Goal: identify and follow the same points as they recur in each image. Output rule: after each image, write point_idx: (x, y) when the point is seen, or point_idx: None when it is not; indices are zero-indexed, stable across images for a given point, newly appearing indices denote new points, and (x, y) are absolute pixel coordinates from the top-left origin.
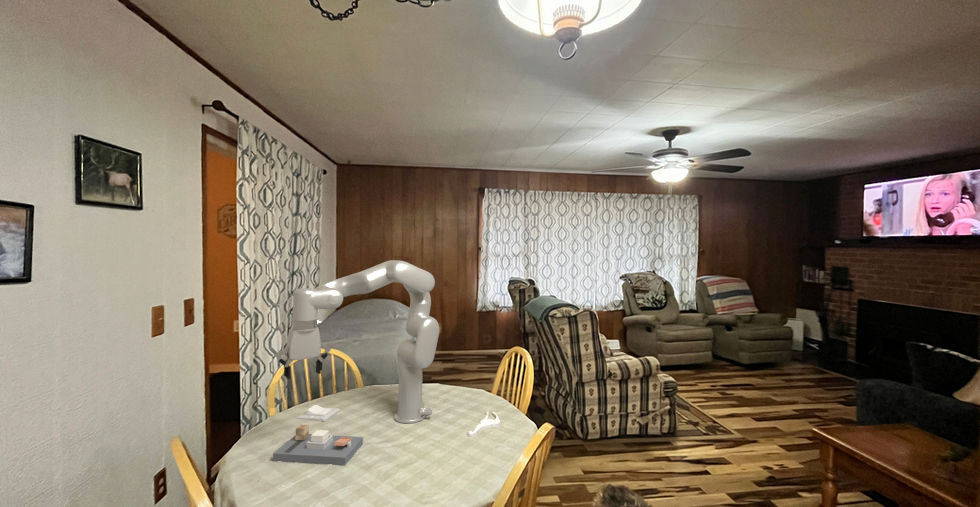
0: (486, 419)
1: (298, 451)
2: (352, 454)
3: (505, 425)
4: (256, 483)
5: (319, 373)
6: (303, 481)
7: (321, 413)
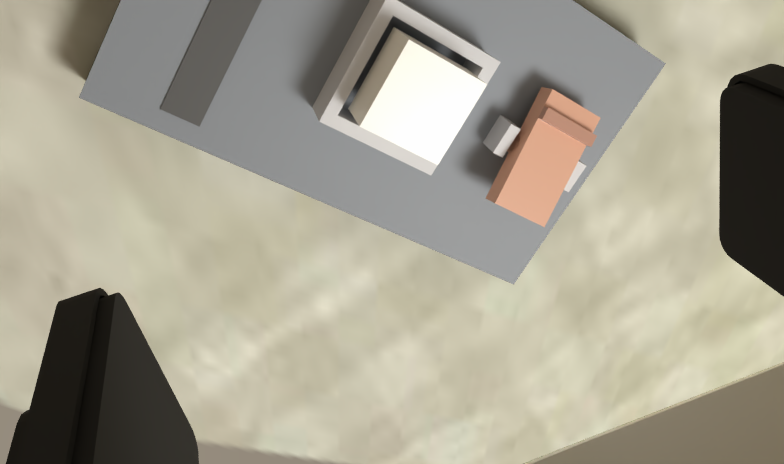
0: None
1: (260, 128)
2: None
3: None
4: None
5: (740, 251)
6: (299, 345)
7: None
